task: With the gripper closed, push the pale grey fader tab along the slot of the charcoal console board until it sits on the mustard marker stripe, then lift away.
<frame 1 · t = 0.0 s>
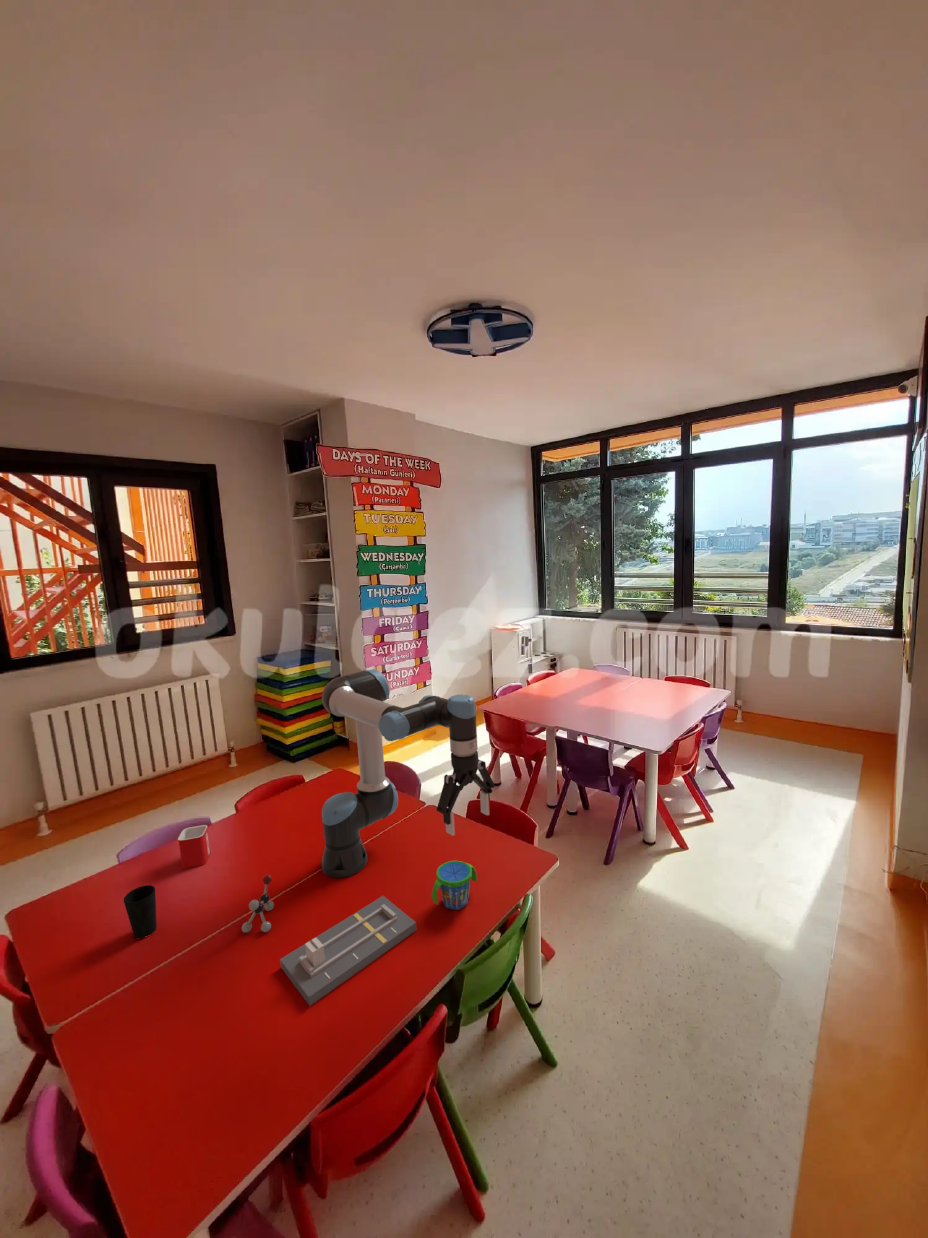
hand: (468, 823, 141), 28 cm above the table, fingers open, 13 cm apart
molecular model: (263, 919, 147), on the table
console: (351, 948, 134), on the table
cup: (145, 932, 145), on the table
fader tab: (315, 953, 127), point 5 cm above the table, slide at 0.0 cm
mug: (198, 857, 180), on the table
snack cup: (456, 903, 150), on the table
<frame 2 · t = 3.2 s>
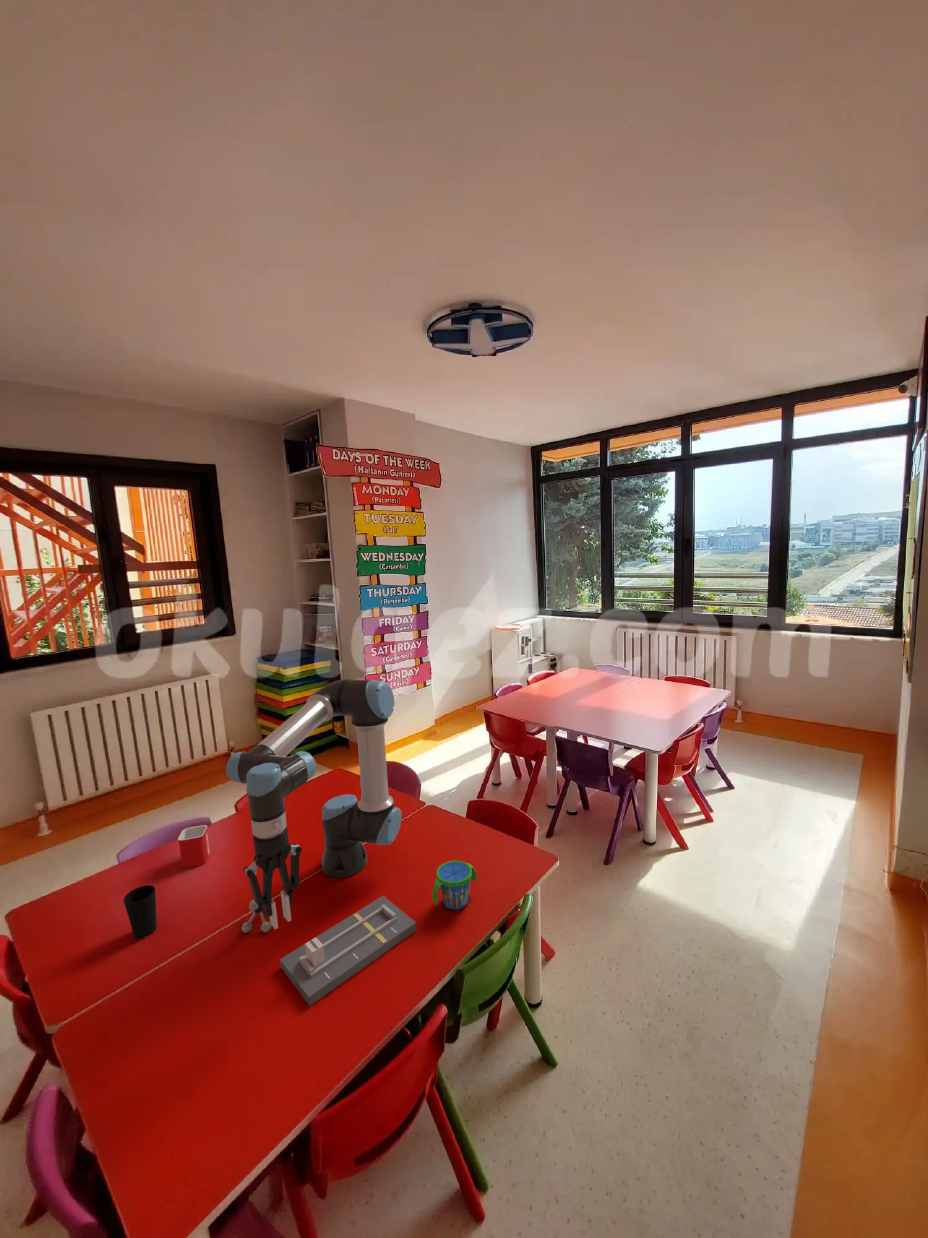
hand: (280, 921, 120), 19 cm above the table, fingers open, 3 cm apart
nothing on the table moved.
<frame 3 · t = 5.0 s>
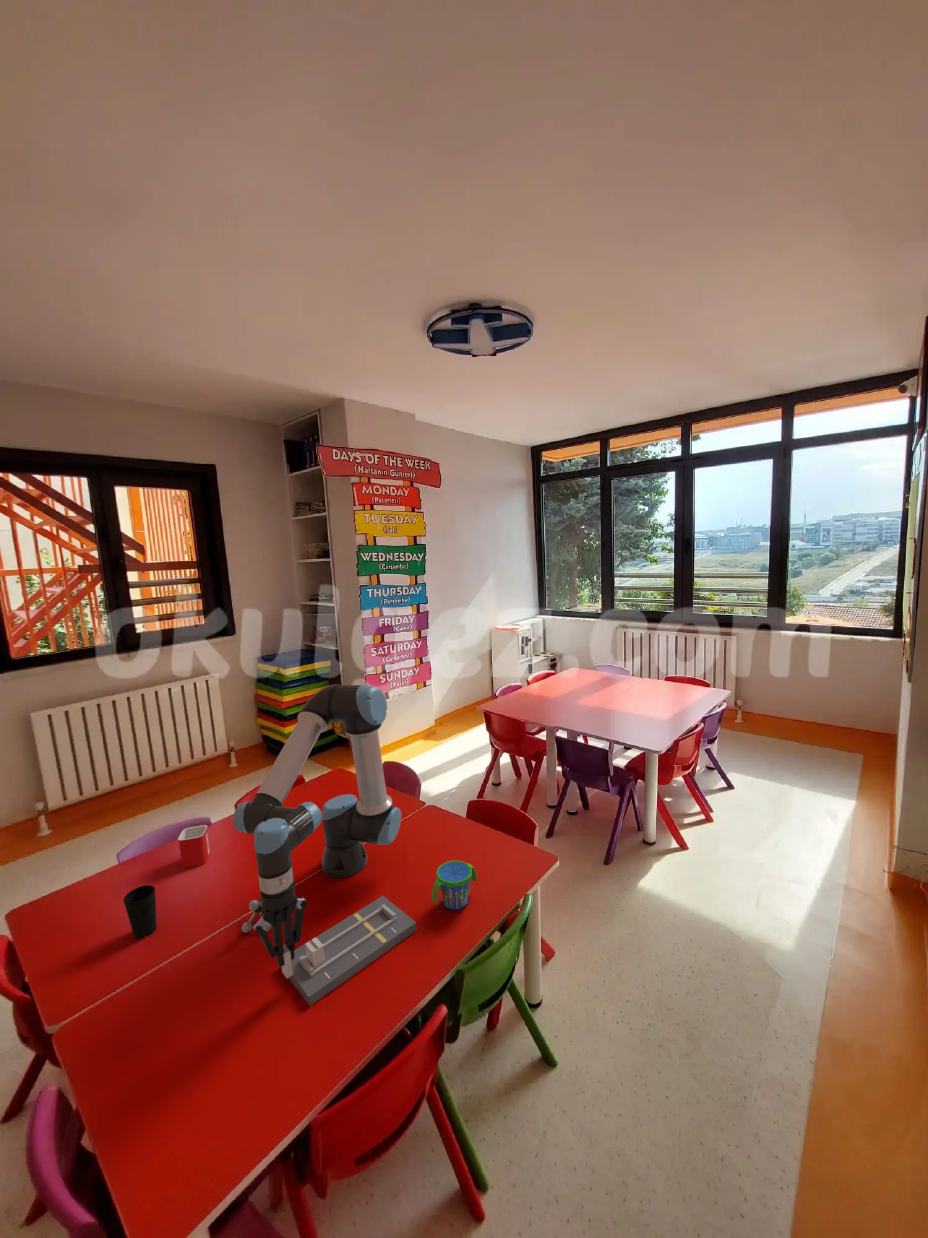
hand: (287, 973, 122), 4 cm above the table, fingers closed
nothing on the table moved.
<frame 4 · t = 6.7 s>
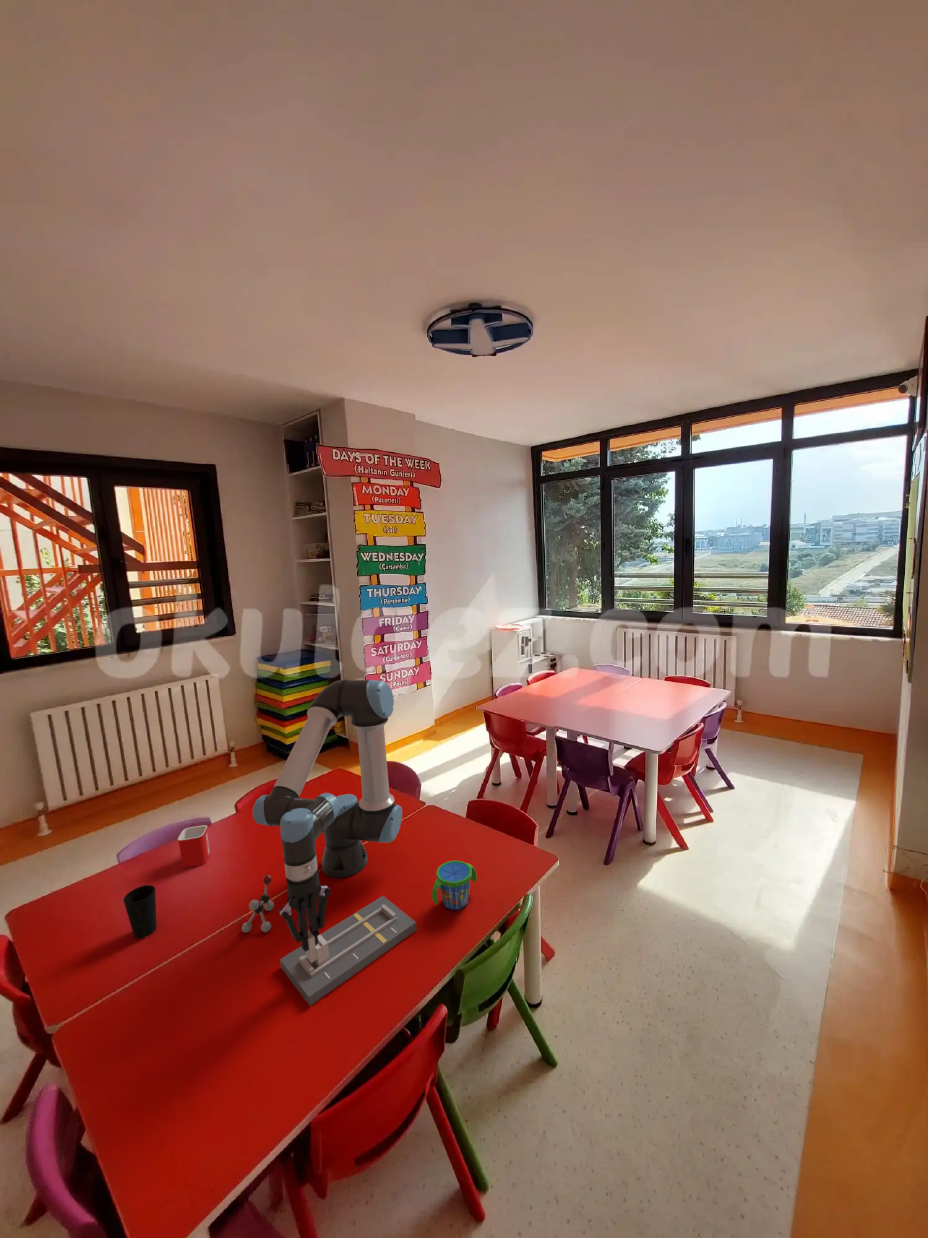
hand: (311, 958, 126), 4 cm above the table, fingers closed
fader tab: (319, 950, 128), point 5 cm above the table, slide at 1.2 cm, touching gripper
everything else where it was.
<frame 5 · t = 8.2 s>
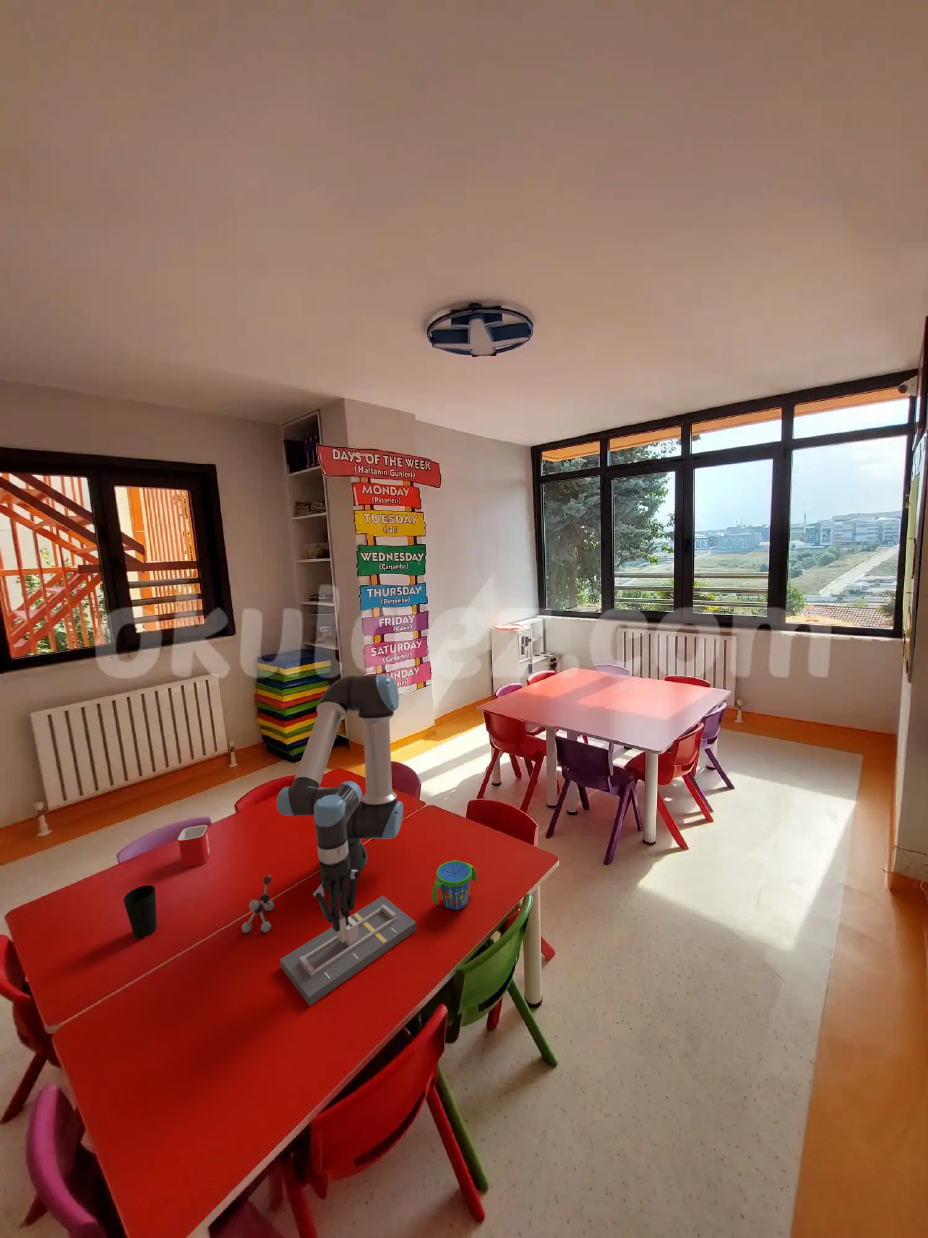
hand: (342, 938, 132), 4 cm above the table, fingers closed
fader tab: (349, 931, 134), point 5 cm above the table, slide at 10.0 cm, touching gripper
everything else where it was.
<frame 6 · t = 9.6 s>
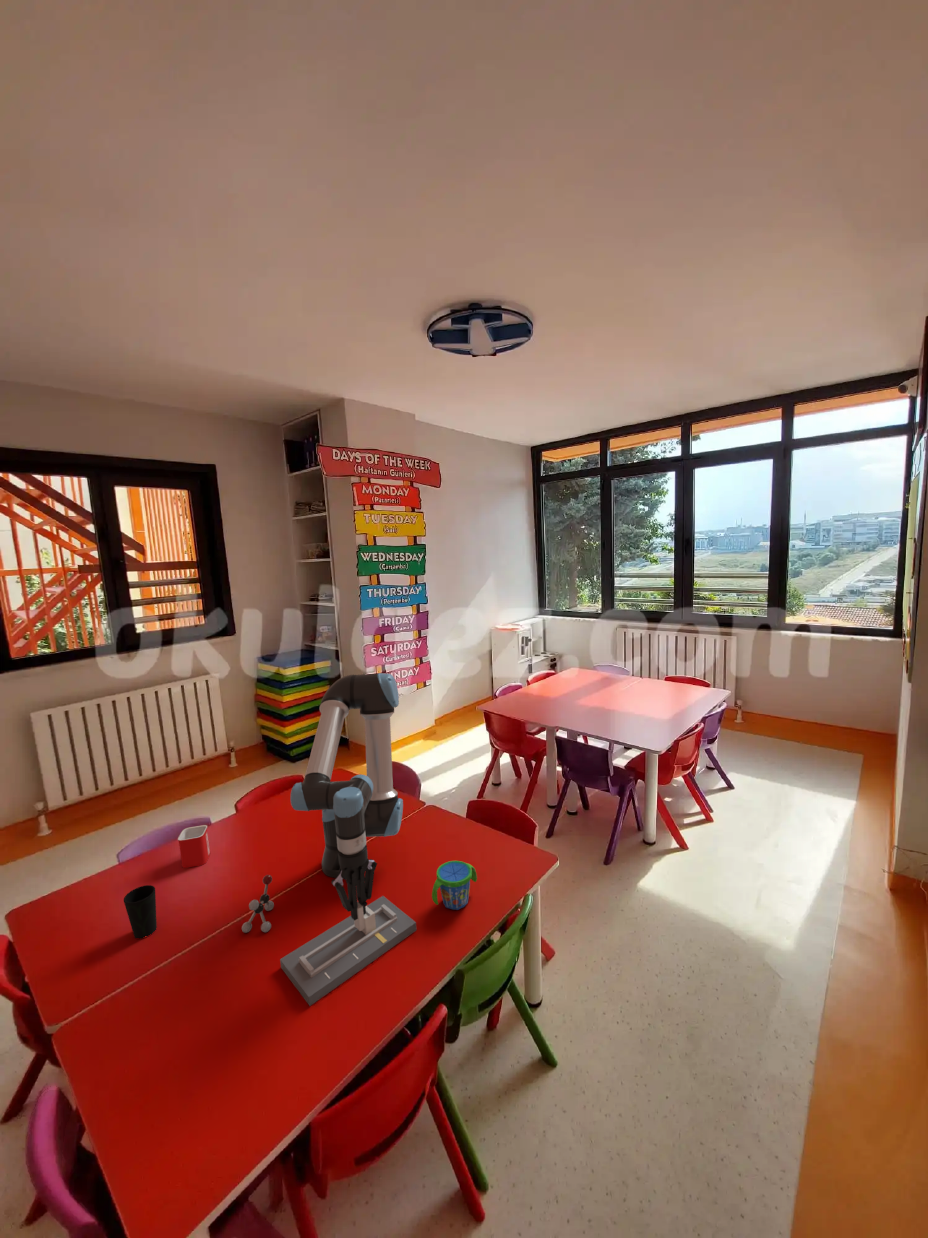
hand: (359, 927, 136), 4 cm above the table, fingers closed
fader tab: (366, 920, 137), point 5 cm above the table, slide at 15.3 cm, touching gripper
everything else where it was.
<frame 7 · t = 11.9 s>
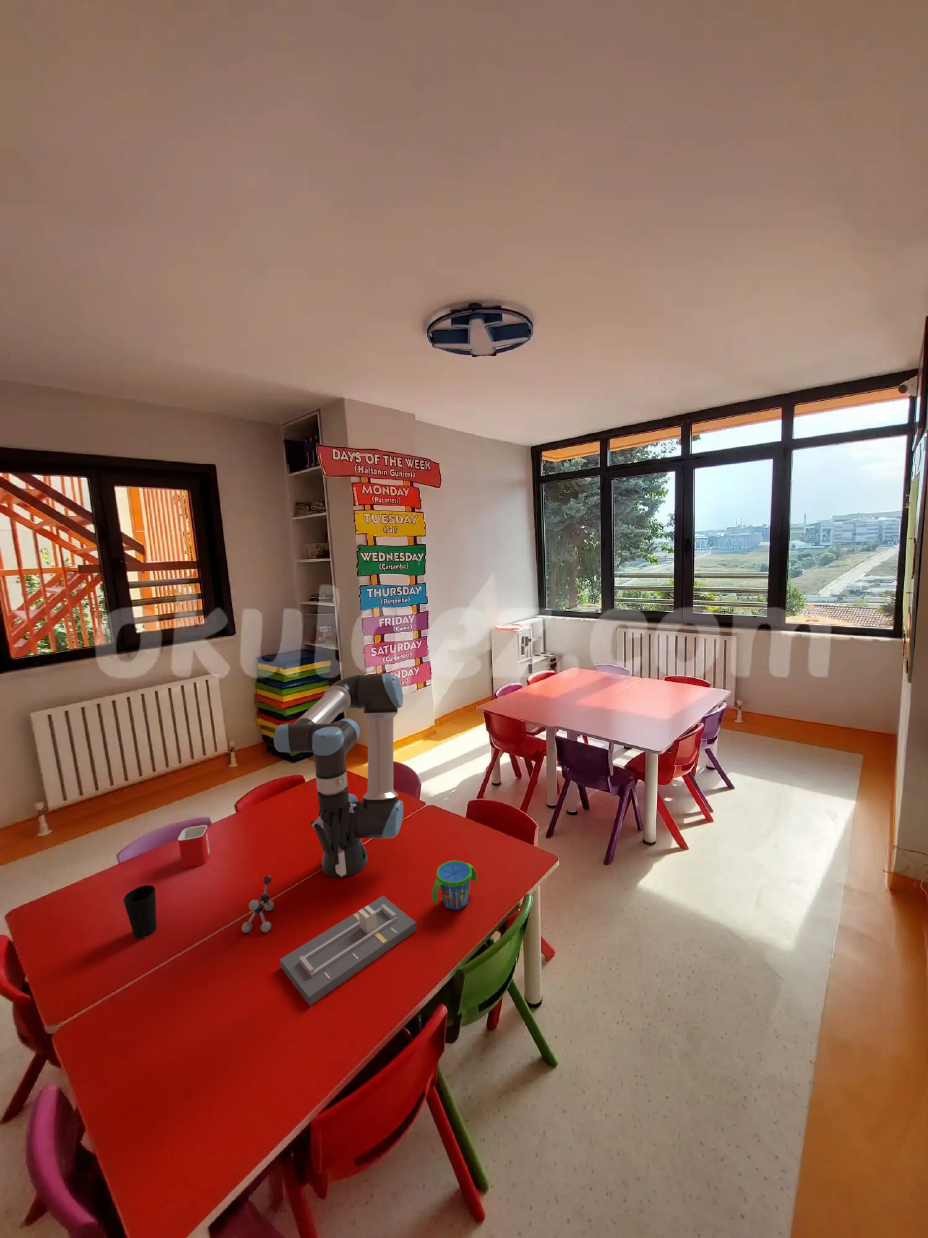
hand: (341, 873, 131), 22 cm above the table, fingers closed
fader tab: (367, 919, 137), point 5 cm above the table, slide at 15.7 cm
everything else where it was.
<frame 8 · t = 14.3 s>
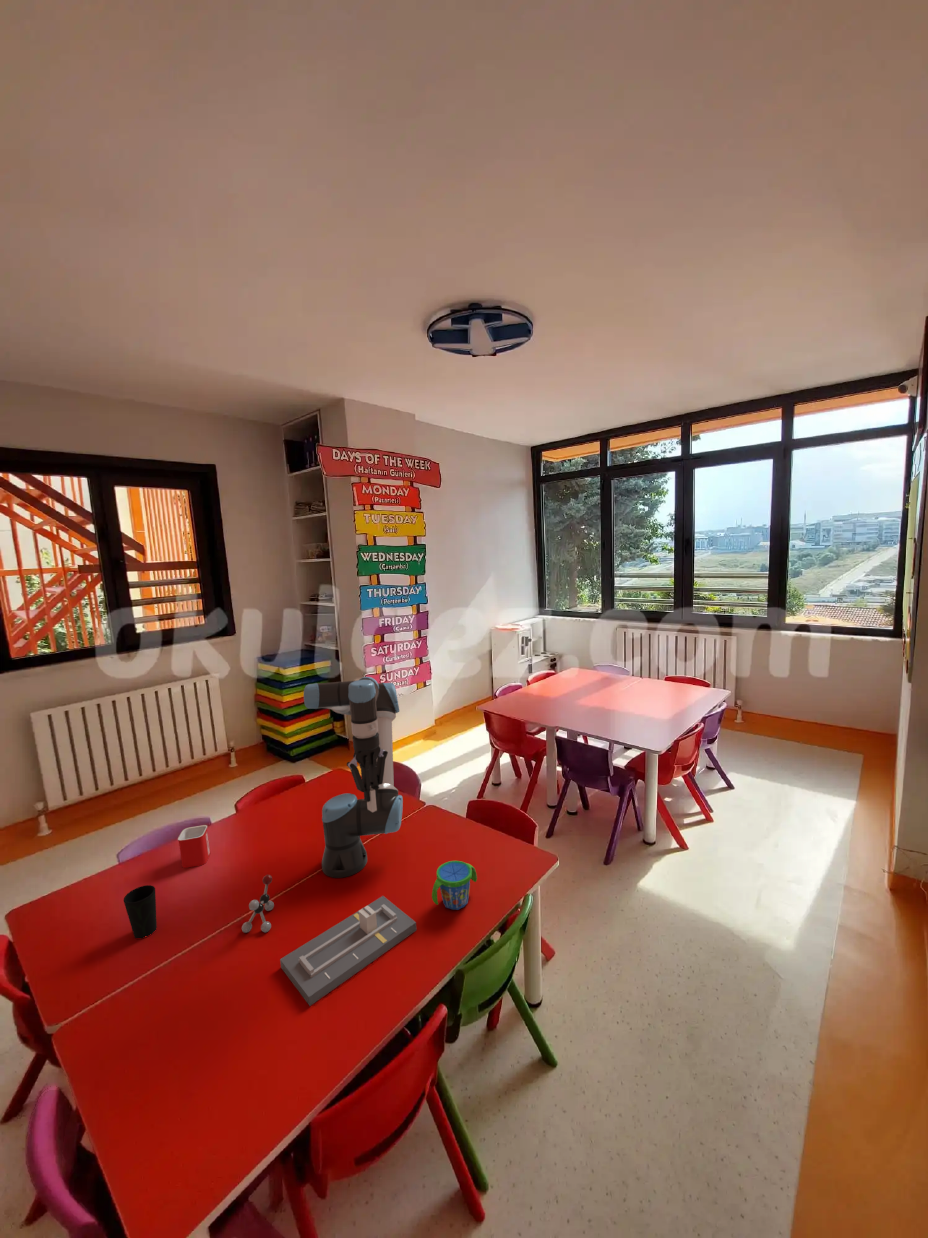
hand: (372, 809, 148), 29 cm above the table, fingers closed
nothing on the table moved.
at the end: fader tab slide at 15.7 cm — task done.
